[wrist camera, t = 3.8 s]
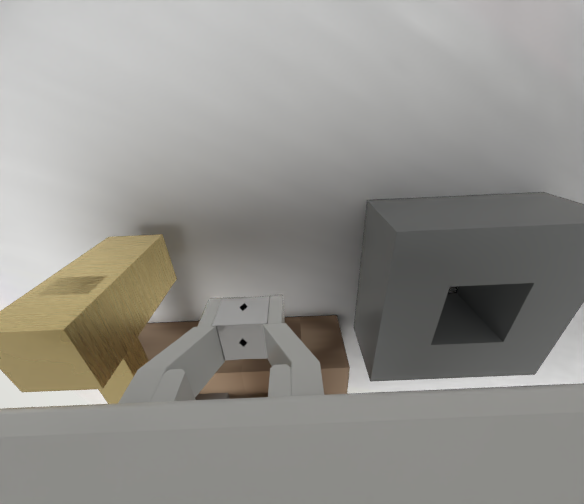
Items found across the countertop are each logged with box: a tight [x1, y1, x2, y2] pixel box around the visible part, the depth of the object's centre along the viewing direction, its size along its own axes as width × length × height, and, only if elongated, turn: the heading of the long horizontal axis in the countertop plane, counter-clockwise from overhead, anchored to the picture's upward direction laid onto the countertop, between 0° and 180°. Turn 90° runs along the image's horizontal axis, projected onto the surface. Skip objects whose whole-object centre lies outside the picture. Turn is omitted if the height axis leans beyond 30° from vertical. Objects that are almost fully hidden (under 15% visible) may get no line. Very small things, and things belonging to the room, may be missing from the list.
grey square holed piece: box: [354, 192, 584, 381], centre depth 16 cm, size 11×11×5 cm
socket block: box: [138, 315, 350, 400], centre depth 21 cm, size 16×12×6 cm
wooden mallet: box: [0, 234, 177, 404], centre depth 15 cm, size 12×19×7 cm, turn 2°
